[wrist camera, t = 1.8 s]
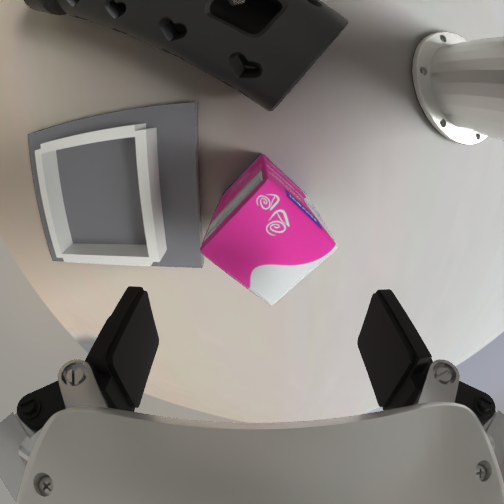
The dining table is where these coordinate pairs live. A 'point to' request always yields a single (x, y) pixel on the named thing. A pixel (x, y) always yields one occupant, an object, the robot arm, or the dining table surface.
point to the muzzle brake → (223, 36)
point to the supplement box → (266, 232)
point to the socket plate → (121, 187)
